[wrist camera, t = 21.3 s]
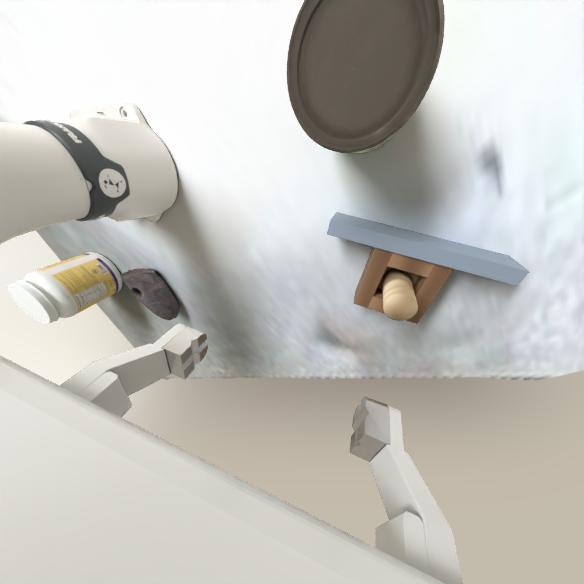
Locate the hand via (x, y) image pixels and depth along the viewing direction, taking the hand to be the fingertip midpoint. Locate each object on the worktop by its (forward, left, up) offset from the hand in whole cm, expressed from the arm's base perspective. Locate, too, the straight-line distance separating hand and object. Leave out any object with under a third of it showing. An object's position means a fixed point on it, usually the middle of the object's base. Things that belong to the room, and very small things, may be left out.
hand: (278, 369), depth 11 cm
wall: (+10, 0, -29) cm, 31 cm away
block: (+10, -6, -29) cm, 31 cm away
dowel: (+10, -6, -28) cm, 30 cm away
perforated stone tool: (-39, -27, -29) cm, 56 cm away
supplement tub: (-59, -29, -29) cm, 72 cm away
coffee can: (-2, +14, -29) cm, 33 cm away
